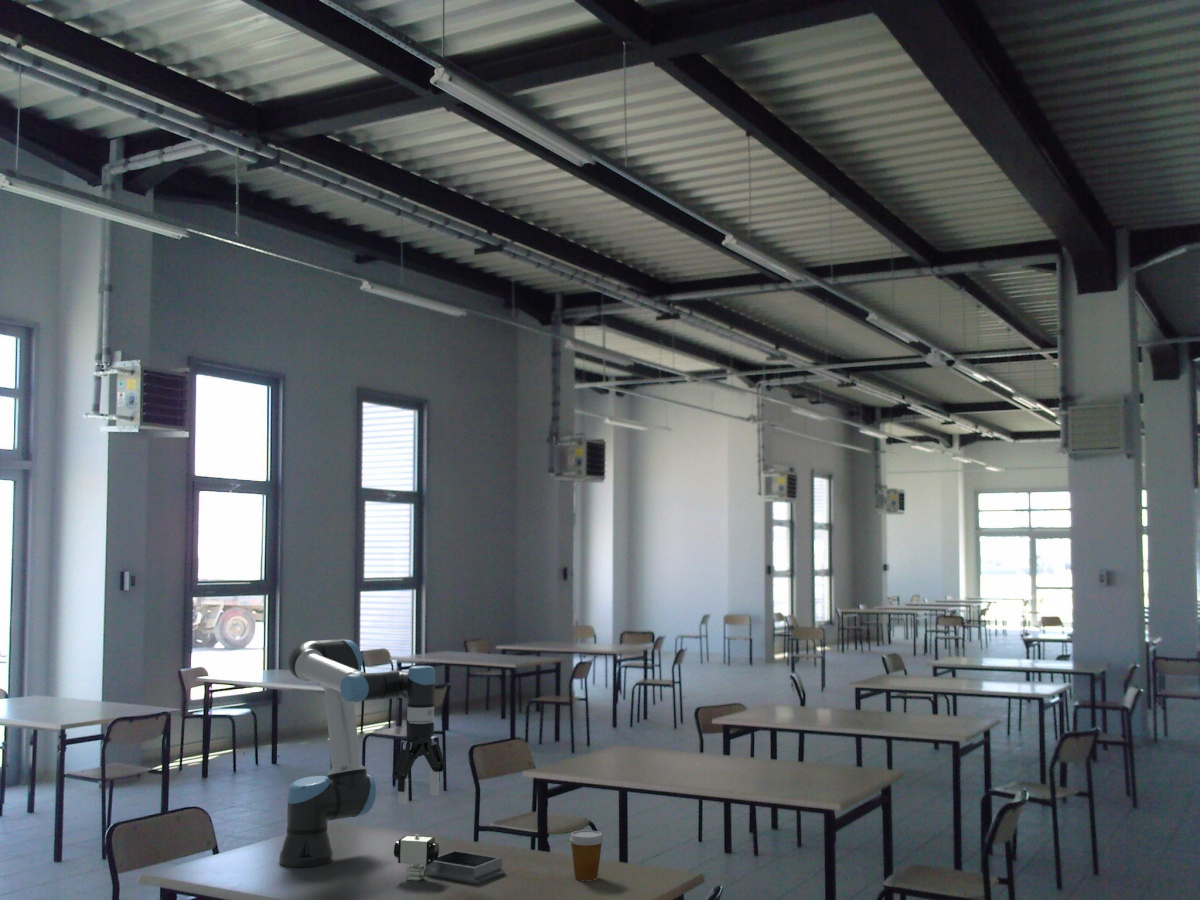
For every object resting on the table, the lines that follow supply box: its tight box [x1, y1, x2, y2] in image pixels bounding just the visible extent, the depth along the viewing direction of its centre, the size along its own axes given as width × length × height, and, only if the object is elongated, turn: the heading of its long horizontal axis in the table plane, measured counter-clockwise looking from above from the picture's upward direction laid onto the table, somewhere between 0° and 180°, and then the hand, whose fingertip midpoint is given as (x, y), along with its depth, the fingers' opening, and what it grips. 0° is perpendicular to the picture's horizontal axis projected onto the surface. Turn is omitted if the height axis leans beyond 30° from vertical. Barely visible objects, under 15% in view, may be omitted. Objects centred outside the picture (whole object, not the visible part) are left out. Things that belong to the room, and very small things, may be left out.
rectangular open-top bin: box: [425, 849, 505, 885], centre depth 302 cm, size 19×13×4 cm
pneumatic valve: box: [393, 834, 440, 882], centre depth 297 cm, size 6×12×12 cm, turn 78°
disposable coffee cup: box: [569, 829, 604, 881], centre depth 299 cm, size 10×10×12 cm
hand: (418, 799), depth 299 cm, fingers open, 13 cm apart
